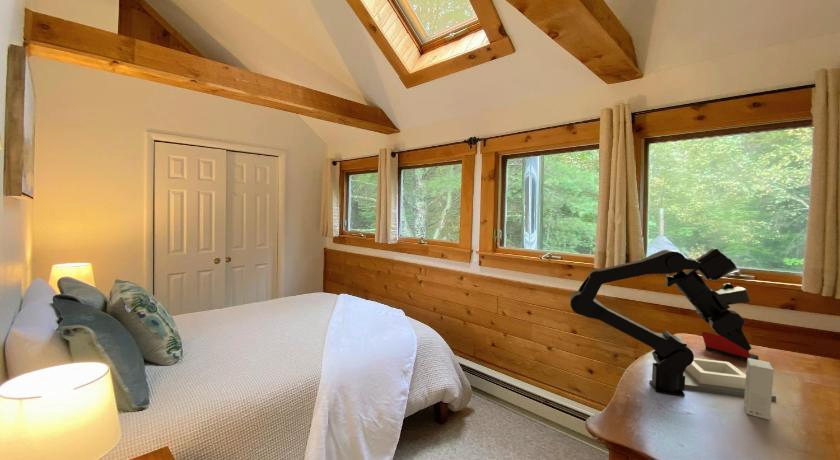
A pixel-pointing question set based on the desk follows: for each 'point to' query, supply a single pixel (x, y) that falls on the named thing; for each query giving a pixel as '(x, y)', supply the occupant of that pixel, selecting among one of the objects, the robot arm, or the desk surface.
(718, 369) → the socket board
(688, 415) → the desk surface
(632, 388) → the desk surface
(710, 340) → the handheld game console
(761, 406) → the skincare box
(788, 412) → the desk surface
